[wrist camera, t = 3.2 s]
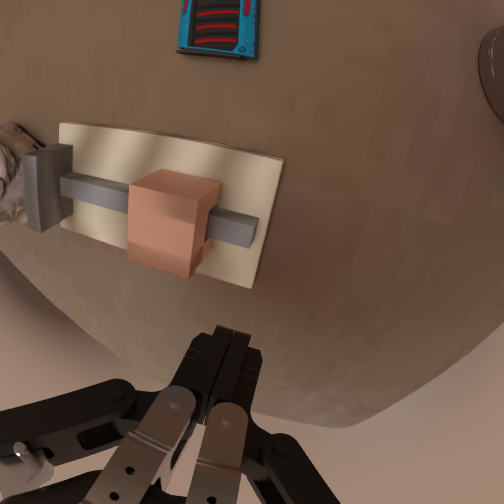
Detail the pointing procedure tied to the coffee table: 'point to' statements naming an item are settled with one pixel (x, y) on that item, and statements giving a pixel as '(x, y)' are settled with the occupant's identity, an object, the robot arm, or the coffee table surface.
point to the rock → (13, 173)
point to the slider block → (170, 221)
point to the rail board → (138, 166)
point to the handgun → (219, 28)
